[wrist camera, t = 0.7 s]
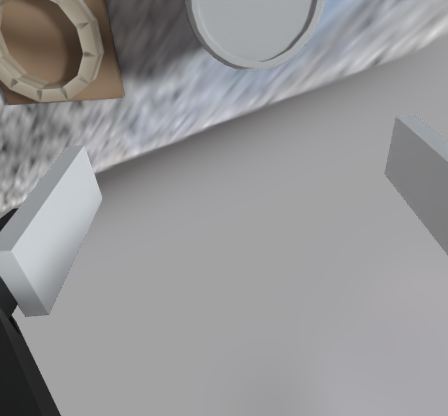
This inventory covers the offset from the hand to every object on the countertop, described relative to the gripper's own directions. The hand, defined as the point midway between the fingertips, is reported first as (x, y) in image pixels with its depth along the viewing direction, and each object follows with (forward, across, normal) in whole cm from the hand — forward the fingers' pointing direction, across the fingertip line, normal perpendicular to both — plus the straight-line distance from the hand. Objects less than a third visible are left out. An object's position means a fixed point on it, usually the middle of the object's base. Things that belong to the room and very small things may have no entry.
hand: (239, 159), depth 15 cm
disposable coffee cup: (+25, +2, +5) cm, 25 cm away
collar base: (+24, -17, +2) cm, 30 cm away
